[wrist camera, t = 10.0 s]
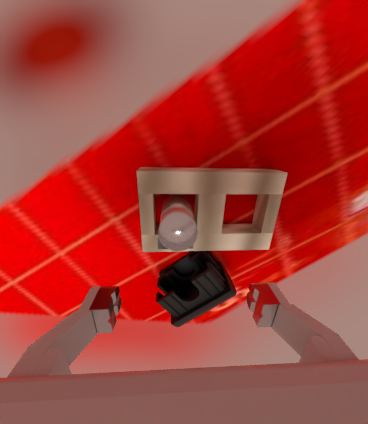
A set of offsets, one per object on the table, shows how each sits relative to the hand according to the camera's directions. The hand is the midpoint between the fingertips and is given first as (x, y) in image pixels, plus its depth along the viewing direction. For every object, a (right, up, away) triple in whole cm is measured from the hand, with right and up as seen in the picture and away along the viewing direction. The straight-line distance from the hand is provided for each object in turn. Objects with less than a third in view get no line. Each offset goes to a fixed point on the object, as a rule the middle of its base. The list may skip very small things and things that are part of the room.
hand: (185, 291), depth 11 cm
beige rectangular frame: (+3, +6, +15) cm, 16 cm away
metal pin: (-1, +6, +14) cm, 16 cm away
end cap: (+1, -5, +19) cm, 20 cm away
